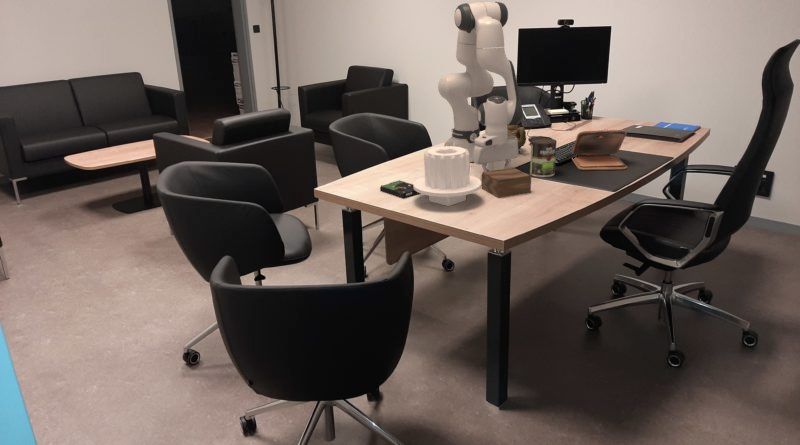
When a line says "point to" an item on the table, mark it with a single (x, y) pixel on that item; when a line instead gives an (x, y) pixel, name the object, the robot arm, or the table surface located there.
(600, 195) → the table surface
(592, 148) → the case
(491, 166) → the white block
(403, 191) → the disk drive
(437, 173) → the ribbed cylinder on disc
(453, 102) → the robot arm
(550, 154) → the coffee can
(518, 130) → the teapot
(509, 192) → the walnut box
